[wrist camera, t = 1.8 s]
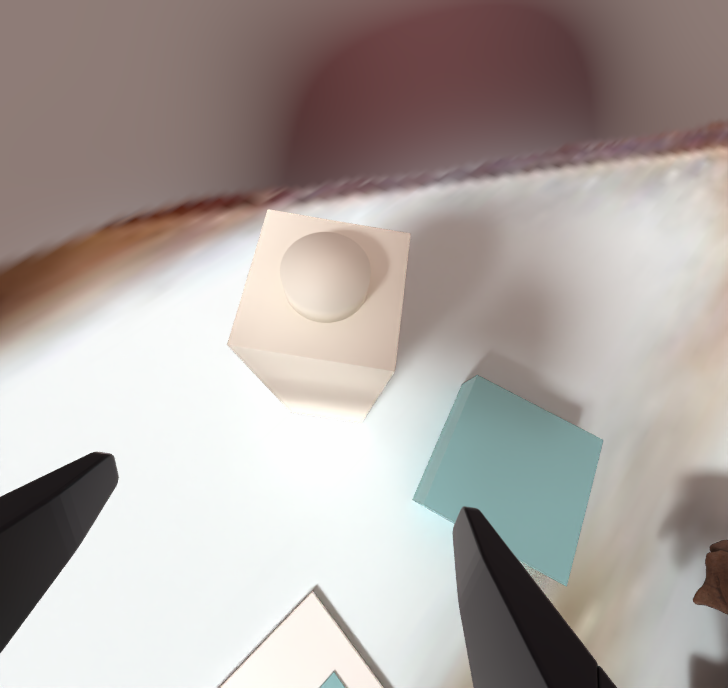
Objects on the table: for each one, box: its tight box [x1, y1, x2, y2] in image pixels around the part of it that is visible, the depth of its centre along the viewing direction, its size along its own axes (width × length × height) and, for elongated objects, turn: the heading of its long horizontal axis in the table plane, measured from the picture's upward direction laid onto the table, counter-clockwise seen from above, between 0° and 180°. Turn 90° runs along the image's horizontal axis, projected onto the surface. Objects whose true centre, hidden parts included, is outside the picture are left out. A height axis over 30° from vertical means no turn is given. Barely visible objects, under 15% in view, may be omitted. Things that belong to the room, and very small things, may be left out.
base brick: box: [413, 375, 603, 586], centre depth 20 cm, size 8×8×3 cm
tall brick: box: [227, 210, 411, 423], centre depth 15 cm, size 4×4×14 cm
